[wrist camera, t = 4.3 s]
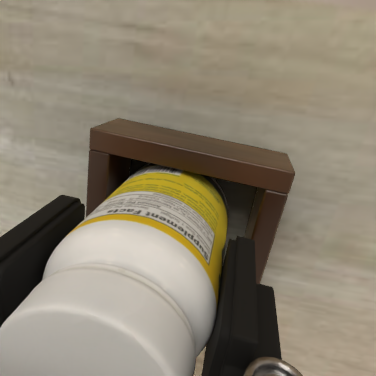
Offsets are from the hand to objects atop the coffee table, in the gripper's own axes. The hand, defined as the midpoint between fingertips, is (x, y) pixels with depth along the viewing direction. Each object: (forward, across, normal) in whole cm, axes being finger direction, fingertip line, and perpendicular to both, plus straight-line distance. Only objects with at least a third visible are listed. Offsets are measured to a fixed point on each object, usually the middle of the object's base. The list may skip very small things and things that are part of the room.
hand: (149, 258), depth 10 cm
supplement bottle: (+4, 0, 0) cm, 4 cm away
